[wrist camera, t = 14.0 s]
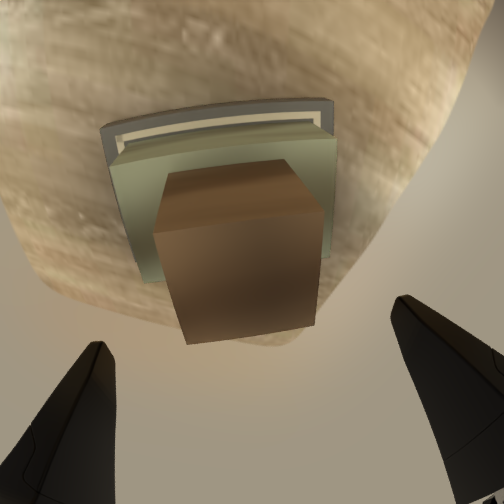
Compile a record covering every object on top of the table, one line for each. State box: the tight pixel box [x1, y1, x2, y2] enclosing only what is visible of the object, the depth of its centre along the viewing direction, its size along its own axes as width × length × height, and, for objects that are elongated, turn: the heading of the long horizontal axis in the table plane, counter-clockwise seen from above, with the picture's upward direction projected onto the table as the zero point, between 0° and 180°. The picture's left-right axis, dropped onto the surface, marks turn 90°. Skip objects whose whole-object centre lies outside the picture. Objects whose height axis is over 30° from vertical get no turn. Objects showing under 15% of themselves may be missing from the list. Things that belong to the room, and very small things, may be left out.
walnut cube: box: [153, 159, 324, 345], centre depth 12 cm, size 5×5×5 cm
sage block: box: [109, 121, 337, 283], centre depth 16 cm, size 6×10×4 cm, turn 94°
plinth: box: [100, 98, 334, 262], centre depth 18 cm, size 9×13×2 cm
